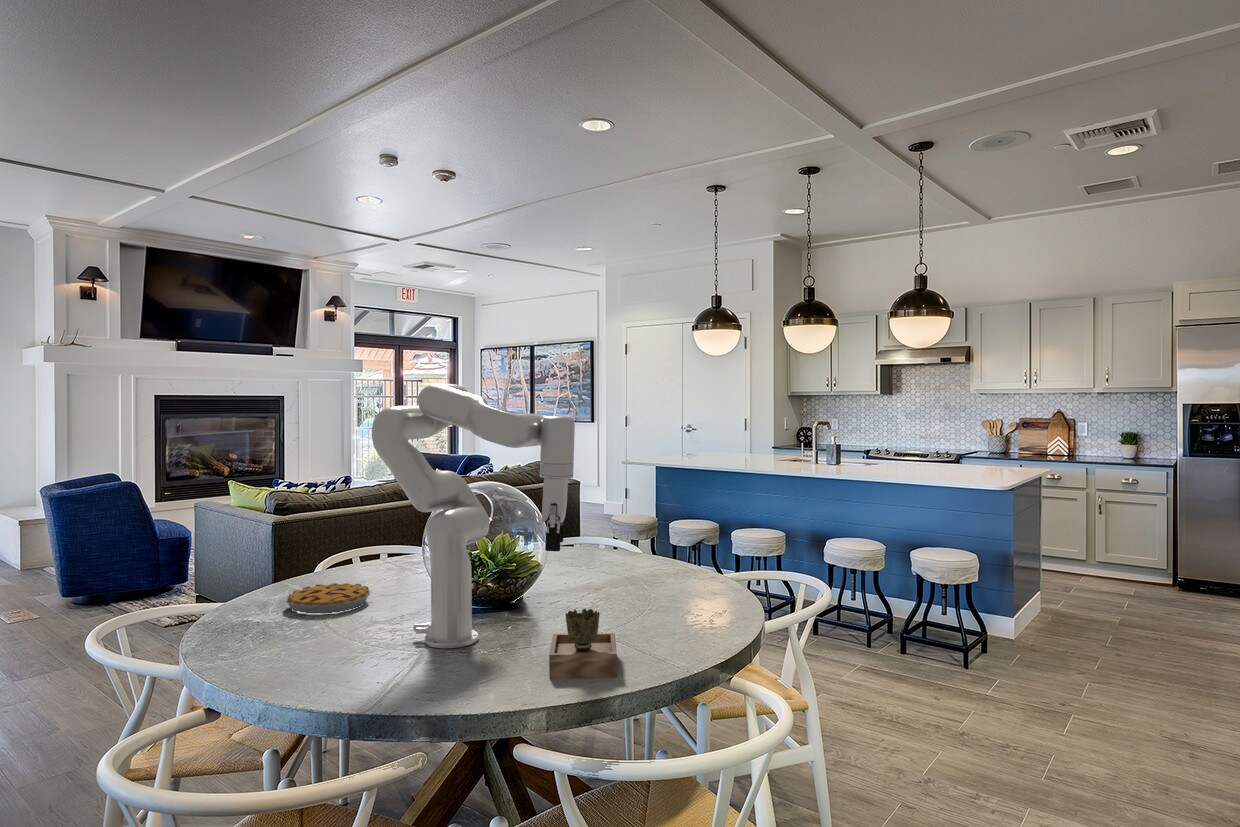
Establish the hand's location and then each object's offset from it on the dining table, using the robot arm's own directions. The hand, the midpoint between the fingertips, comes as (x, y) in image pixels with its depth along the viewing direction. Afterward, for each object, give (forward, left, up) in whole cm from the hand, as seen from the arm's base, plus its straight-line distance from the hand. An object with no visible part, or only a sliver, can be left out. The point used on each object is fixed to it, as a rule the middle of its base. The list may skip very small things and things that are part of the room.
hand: (554, 546), depth 166 cm
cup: (+7, -7, -21) cm, 23 cm away
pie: (-67, +43, -25) cm, 83 cm away
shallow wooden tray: (+7, -7, -25) cm, 27 cm away
